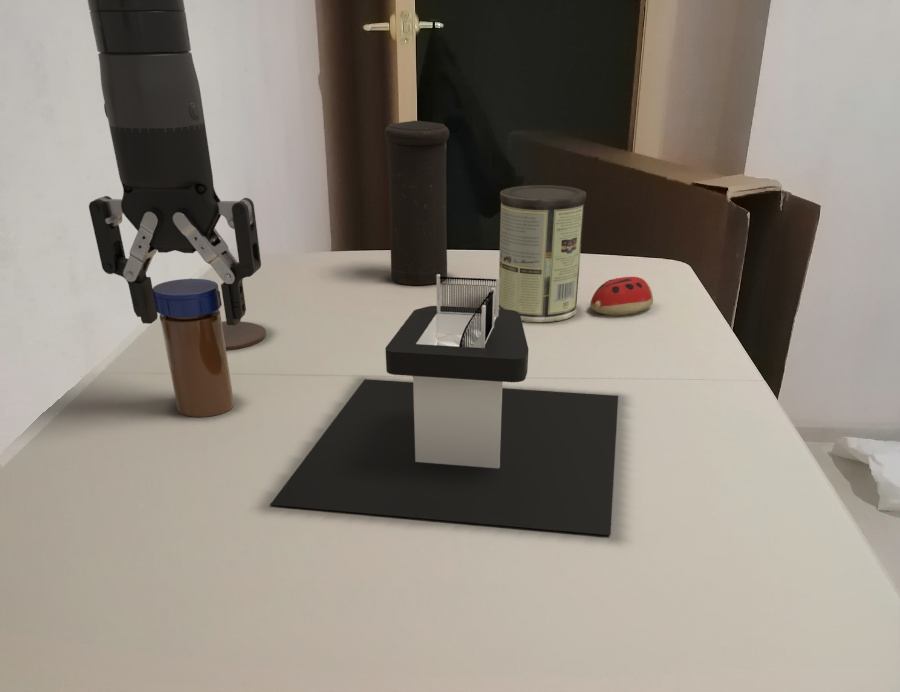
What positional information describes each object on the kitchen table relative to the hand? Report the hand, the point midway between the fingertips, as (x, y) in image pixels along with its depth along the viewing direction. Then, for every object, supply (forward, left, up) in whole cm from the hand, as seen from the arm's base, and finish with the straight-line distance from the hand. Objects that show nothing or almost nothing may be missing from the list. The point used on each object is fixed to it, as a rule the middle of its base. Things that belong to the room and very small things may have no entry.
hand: (191, 322), depth 78 cm
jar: (0, 0, -8) cm, 8 cm away
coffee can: (+32, +35, -8) cm, 48 cm away
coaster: (-5, +21, -8) cm, 23 cm away
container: (+15, +50, -8) cm, 53 cm away
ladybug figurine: (+43, +37, -8) cm, 58 cm away
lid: (0, 0, +3) cm, 3 cm away
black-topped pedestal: (+26, -7, -8) cm, 28 cm away
